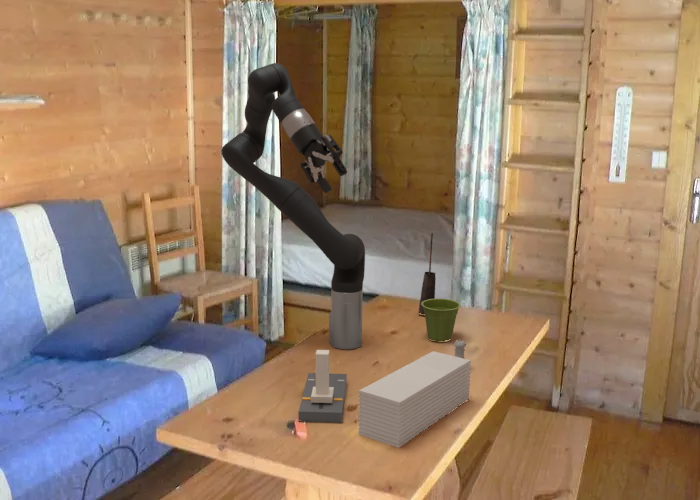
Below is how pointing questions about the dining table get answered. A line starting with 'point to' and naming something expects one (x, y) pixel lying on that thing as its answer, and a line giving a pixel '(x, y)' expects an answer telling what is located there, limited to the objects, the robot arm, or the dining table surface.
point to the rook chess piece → (459, 348)
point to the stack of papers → (413, 398)
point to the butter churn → (428, 284)
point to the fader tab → (322, 379)
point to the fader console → (323, 410)
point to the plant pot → (440, 318)
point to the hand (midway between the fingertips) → (336, 183)
